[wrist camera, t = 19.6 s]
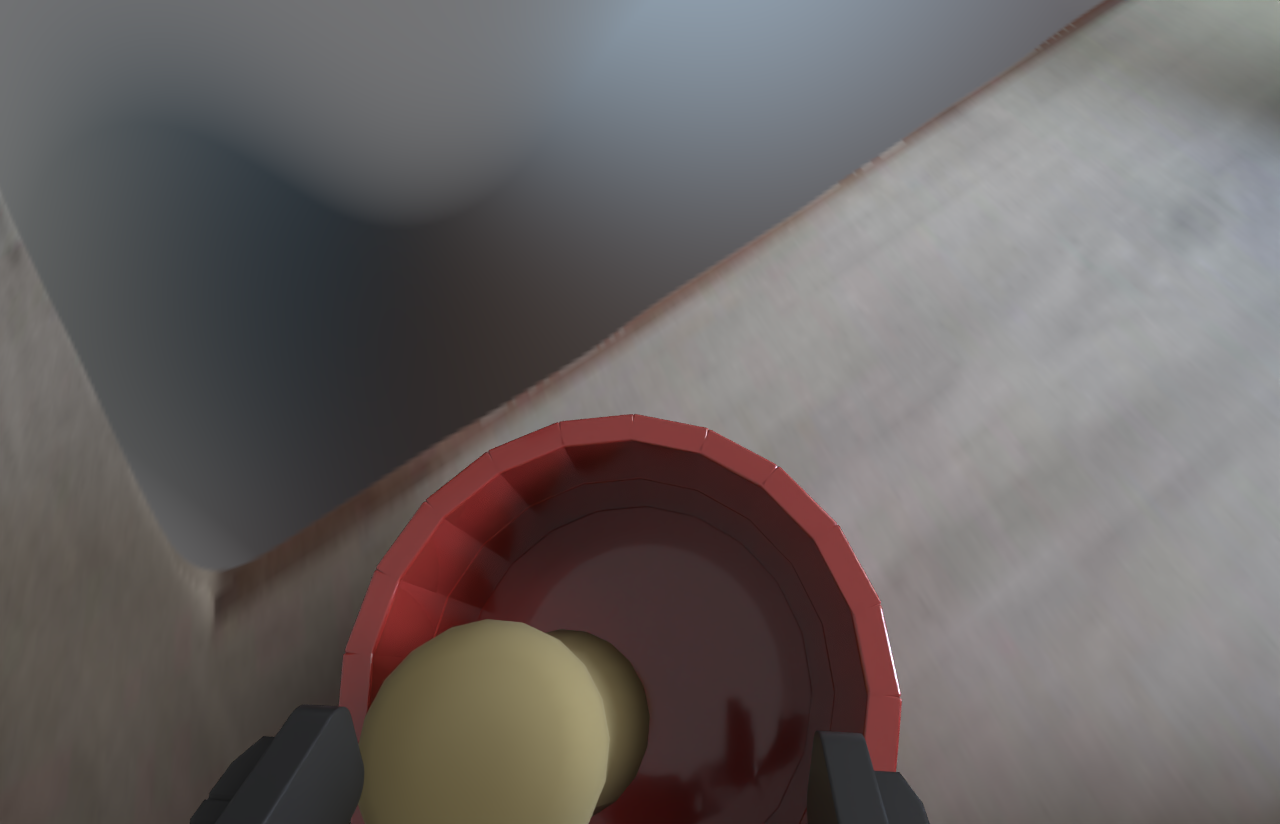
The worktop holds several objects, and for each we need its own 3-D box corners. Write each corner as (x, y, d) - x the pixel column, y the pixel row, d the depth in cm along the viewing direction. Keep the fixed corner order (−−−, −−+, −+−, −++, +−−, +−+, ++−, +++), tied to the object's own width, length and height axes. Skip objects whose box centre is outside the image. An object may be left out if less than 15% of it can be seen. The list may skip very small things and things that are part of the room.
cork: (454, 668, 23) (278, 659, 13) (613, 602, 24) (560, 546, 14) (503, 855, 21) (335, 1019, 11) (677, 779, 22) (670, 868, 11)
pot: (726, 439, 27) (741, 345, 19) (907, 797, 21) (1022, 857, 14) (405, 574, 25) (289, 531, 18) (516, 988, 20) (418, 1164, 13)
